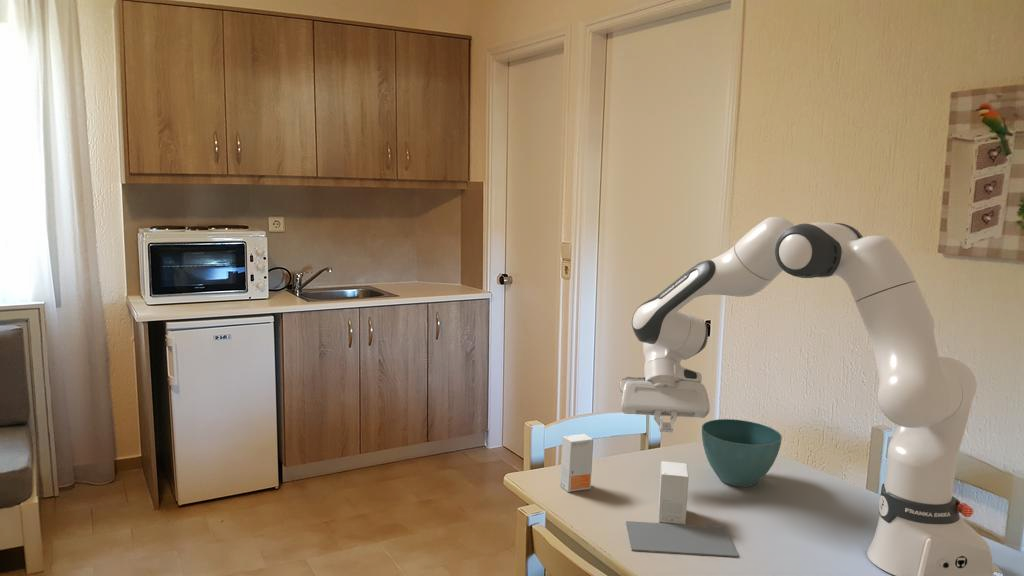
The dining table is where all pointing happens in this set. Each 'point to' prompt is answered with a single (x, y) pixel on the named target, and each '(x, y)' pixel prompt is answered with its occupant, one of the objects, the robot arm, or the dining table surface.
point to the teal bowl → (740, 450)
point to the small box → (673, 492)
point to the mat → (680, 539)
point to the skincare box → (576, 462)
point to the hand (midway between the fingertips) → (666, 431)
